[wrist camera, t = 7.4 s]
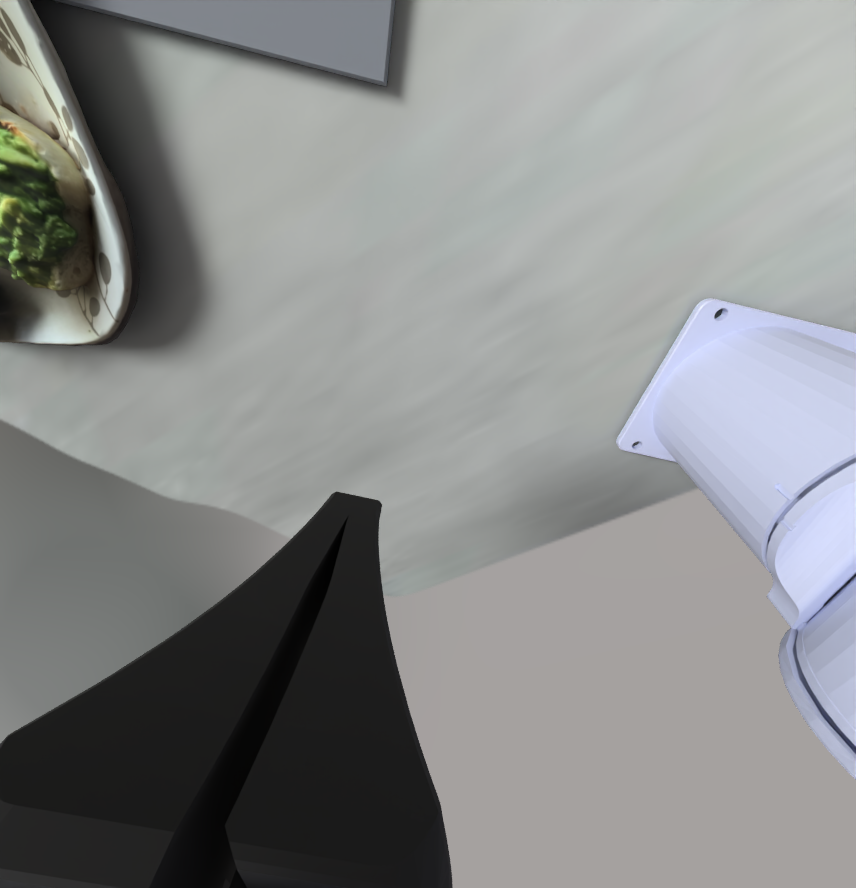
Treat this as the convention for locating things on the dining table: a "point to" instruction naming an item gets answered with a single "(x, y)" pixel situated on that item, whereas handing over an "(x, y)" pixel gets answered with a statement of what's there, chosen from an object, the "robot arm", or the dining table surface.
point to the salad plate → (55, 203)
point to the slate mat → (277, 28)
